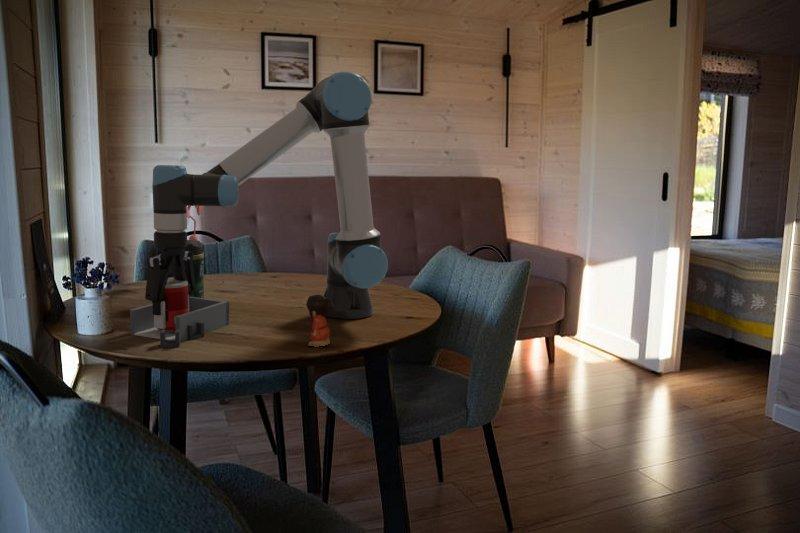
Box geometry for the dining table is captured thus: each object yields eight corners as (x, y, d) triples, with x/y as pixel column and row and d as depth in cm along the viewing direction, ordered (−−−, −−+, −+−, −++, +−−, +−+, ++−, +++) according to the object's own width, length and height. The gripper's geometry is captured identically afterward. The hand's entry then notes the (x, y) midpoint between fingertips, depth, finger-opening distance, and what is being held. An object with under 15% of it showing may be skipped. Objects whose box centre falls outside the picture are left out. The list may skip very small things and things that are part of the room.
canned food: (192, 323, 165) (191, 279, 164) (183, 331, 158) (182, 286, 156) (161, 322, 165) (160, 278, 163) (150, 330, 157) (149, 285, 156)
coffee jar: (199, 308, 188) (198, 243, 185) (170, 307, 187) (169, 242, 184) (207, 300, 197) (206, 238, 194) (180, 300, 197) (179, 237, 194)
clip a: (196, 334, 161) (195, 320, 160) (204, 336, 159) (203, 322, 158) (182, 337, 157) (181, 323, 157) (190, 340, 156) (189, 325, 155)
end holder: (229, 324, 171) (229, 301, 170) (179, 342, 154) (179, 317, 153) (183, 317, 176) (182, 295, 175) (130, 334, 158) (129, 309, 158)
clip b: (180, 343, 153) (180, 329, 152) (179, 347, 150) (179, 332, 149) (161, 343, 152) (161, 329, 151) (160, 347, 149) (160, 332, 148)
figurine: (331, 340, 160) (332, 292, 158) (333, 347, 154) (334, 297, 153) (305, 341, 159) (306, 292, 157) (306, 347, 153) (307, 297, 151)
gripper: (186, 226, 168) (187, 313, 172) (125, 233, 149) (128, 331, 153) (210, 228, 166) (211, 316, 170) (152, 236, 147) (154, 335, 150)
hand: (172, 323), depth 161 cm, fingers closed on canned food, 8 cm apart
